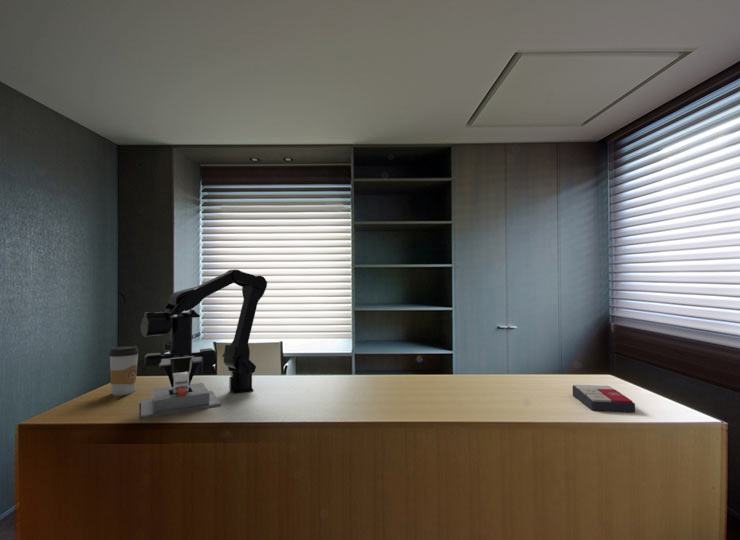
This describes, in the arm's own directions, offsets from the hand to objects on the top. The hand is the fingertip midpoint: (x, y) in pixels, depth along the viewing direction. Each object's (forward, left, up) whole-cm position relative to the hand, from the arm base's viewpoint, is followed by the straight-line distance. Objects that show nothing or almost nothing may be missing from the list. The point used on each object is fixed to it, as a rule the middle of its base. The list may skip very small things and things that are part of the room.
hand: (180, 385), depth 111 cm
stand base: (0, 0, -6) cm, 6 cm away
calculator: (-106, +67, -6) cm, 125 cm away
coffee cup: (+15, -24, -6) cm, 29 cm away
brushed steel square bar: (0, 0, -5) cm, 5 cm away
